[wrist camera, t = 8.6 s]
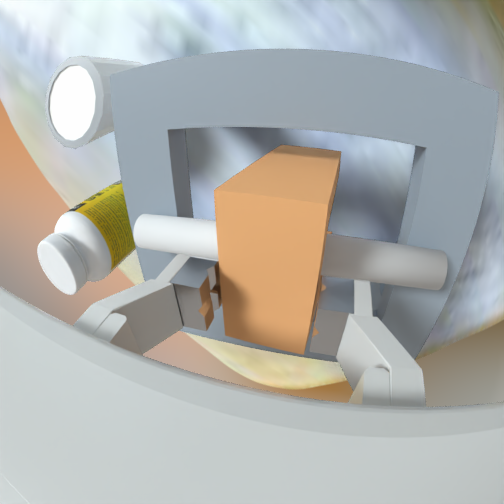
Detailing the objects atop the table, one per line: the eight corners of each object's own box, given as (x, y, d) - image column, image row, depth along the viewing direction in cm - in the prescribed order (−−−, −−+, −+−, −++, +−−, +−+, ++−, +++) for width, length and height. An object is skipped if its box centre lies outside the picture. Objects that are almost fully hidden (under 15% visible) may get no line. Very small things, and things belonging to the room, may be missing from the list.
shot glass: (173, 64, 18) (113, 63, 12) (149, 139, 22) (92, 162, 16) (114, 49, 18) (53, 51, 12) (96, 117, 22) (39, 135, 16)
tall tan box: (281, 144, 14) (214, 190, 7) (341, 151, 13) (328, 204, 7) (277, 242, 16) (225, 335, 10) (329, 250, 16) (303, 354, 10)
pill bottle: (128, 163, 24) (35, 214, 15) (174, 208, 25) (92, 280, 16) (105, 205, 27) (28, 261, 18) (145, 245, 28) (76, 314, 19)
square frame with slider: (202, 74, 18) (84, 77, 8) (425, 89, 14) (520, 95, 5) (213, 247, 26) (146, 341, 16) (393, 272, 22) (410, 390, 12)
